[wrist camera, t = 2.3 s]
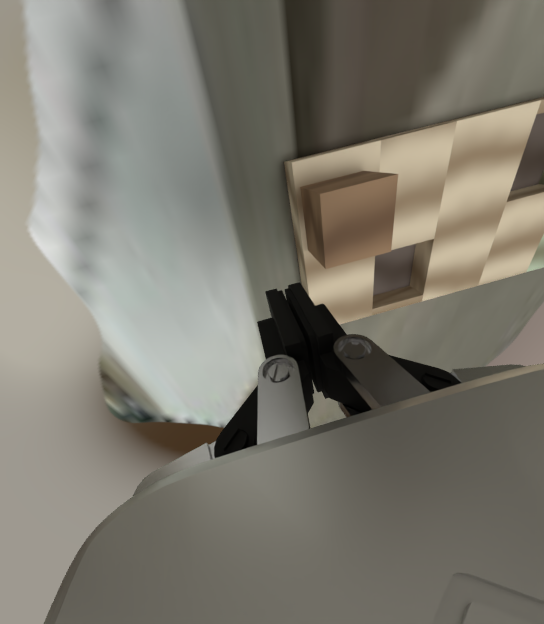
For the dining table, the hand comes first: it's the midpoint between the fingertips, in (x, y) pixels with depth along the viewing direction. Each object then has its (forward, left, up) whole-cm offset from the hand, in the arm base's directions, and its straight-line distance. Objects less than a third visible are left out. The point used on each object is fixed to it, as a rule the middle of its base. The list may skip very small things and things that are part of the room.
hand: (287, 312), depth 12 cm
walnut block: (0, +8, -14) cm, 16 cm away
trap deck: (+4, +24, -17) cm, 29 cm away
